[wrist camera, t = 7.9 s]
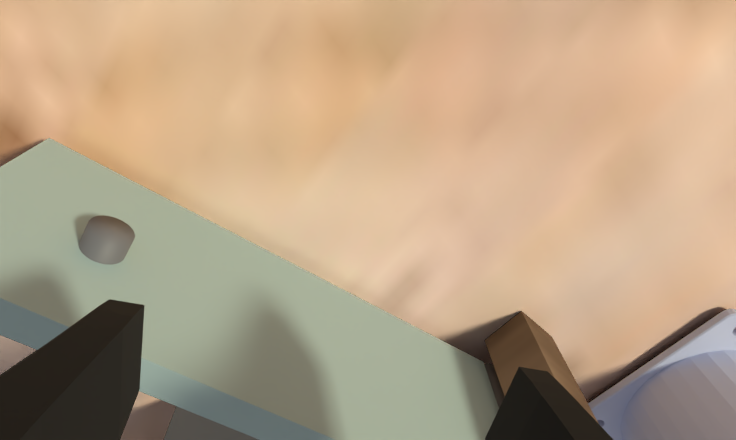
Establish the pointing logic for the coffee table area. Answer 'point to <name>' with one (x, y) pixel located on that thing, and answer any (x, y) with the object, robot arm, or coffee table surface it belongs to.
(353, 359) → the door
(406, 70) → the coffee table surface
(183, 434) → the block
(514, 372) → the door frame
